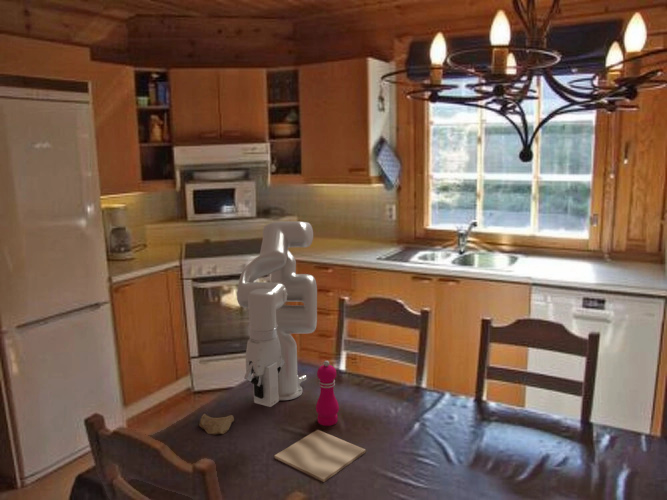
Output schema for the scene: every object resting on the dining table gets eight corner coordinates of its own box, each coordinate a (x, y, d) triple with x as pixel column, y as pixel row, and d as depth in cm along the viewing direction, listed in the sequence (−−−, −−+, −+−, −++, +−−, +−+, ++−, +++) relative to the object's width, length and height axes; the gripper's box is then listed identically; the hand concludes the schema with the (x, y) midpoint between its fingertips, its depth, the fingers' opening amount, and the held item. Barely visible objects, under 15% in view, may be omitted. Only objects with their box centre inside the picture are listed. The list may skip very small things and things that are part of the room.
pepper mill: (342, 424, 170) (341, 363, 166) (320, 428, 167) (319, 366, 164) (334, 413, 176) (333, 355, 173) (312, 418, 174) (311, 358, 170)
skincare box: (279, 401, 158) (277, 362, 155) (270, 407, 154) (268, 367, 152) (262, 396, 161) (260, 358, 158) (253, 402, 157) (251, 363, 155)
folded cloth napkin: (317, 432, 165) (317, 429, 165) (365, 452, 154) (365, 449, 154) (274, 458, 152) (274, 455, 152) (323, 482, 140) (323, 479, 140)
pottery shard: (235, 423, 175) (205, 414, 176) (237, 411, 174) (207, 402, 175) (224, 442, 165) (192, 433, 165) (226, 430, 163) (195, 421, 164)
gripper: (275, 322, 162) (278, 380, 166) (230, 339, 149) (234, 400, 153) (294, 327, 157) (296, 386, 161) (249, 345, 144) (252, 408, 148)
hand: (266, 393), depth 157 cm, fingers closed on skincare box, 4 cm apart
